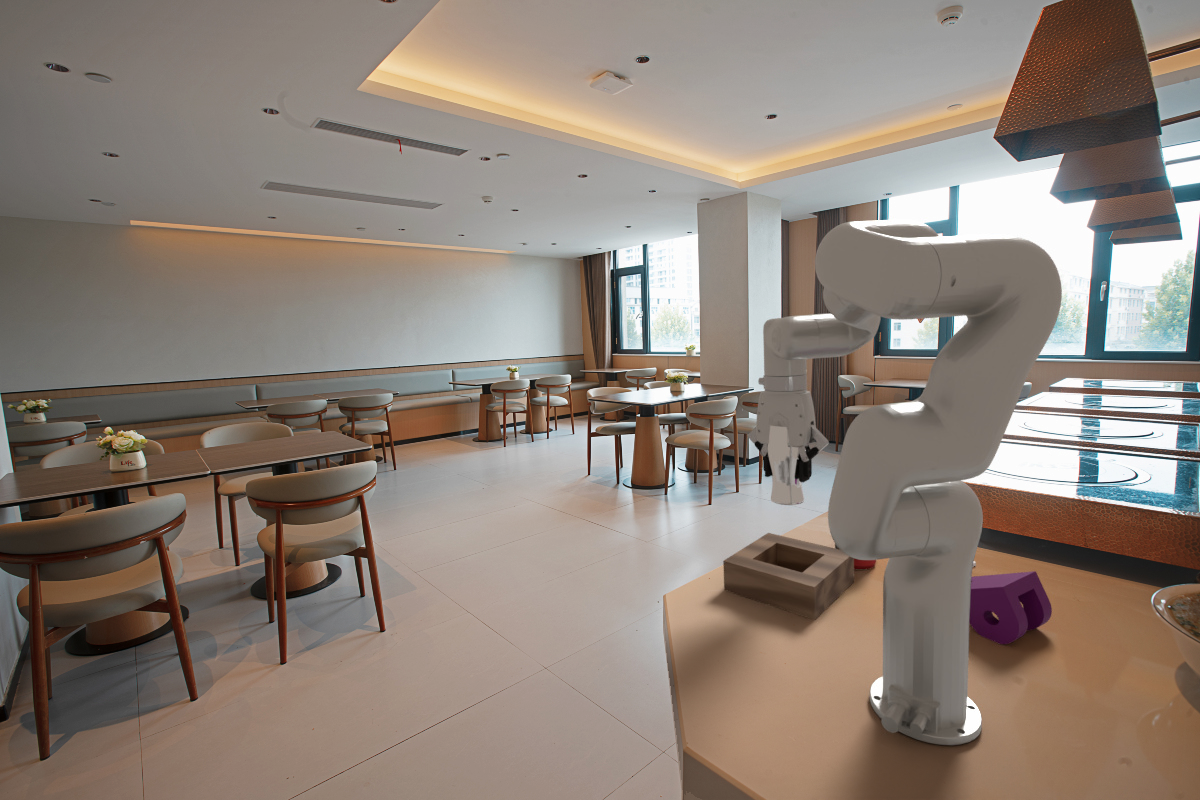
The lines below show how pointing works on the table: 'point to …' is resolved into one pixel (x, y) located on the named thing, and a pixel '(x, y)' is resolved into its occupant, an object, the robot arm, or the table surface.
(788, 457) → the silver metal cup
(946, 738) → the robot arm
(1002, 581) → the mounting bracket
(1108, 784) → the table surface
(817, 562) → the walnut well
